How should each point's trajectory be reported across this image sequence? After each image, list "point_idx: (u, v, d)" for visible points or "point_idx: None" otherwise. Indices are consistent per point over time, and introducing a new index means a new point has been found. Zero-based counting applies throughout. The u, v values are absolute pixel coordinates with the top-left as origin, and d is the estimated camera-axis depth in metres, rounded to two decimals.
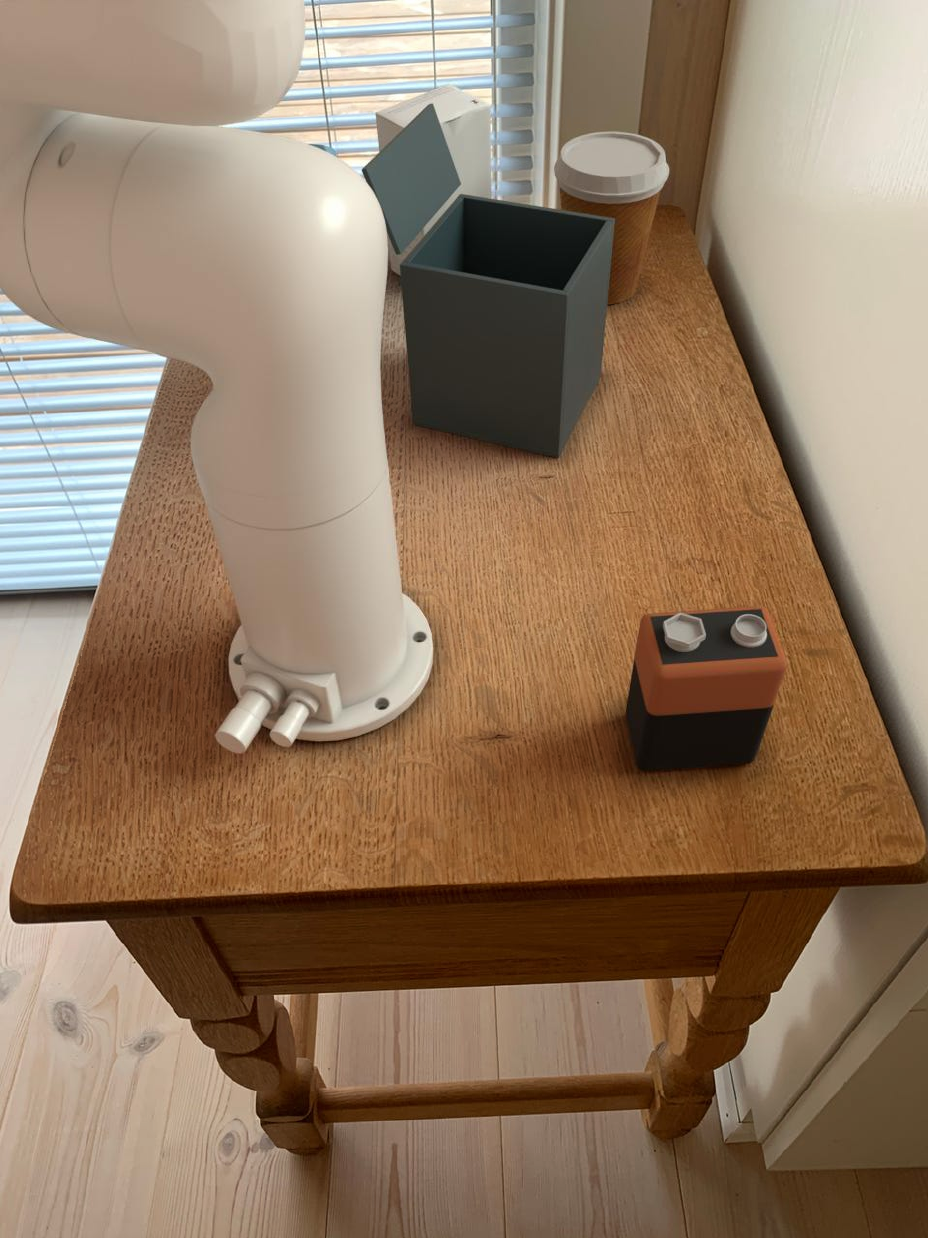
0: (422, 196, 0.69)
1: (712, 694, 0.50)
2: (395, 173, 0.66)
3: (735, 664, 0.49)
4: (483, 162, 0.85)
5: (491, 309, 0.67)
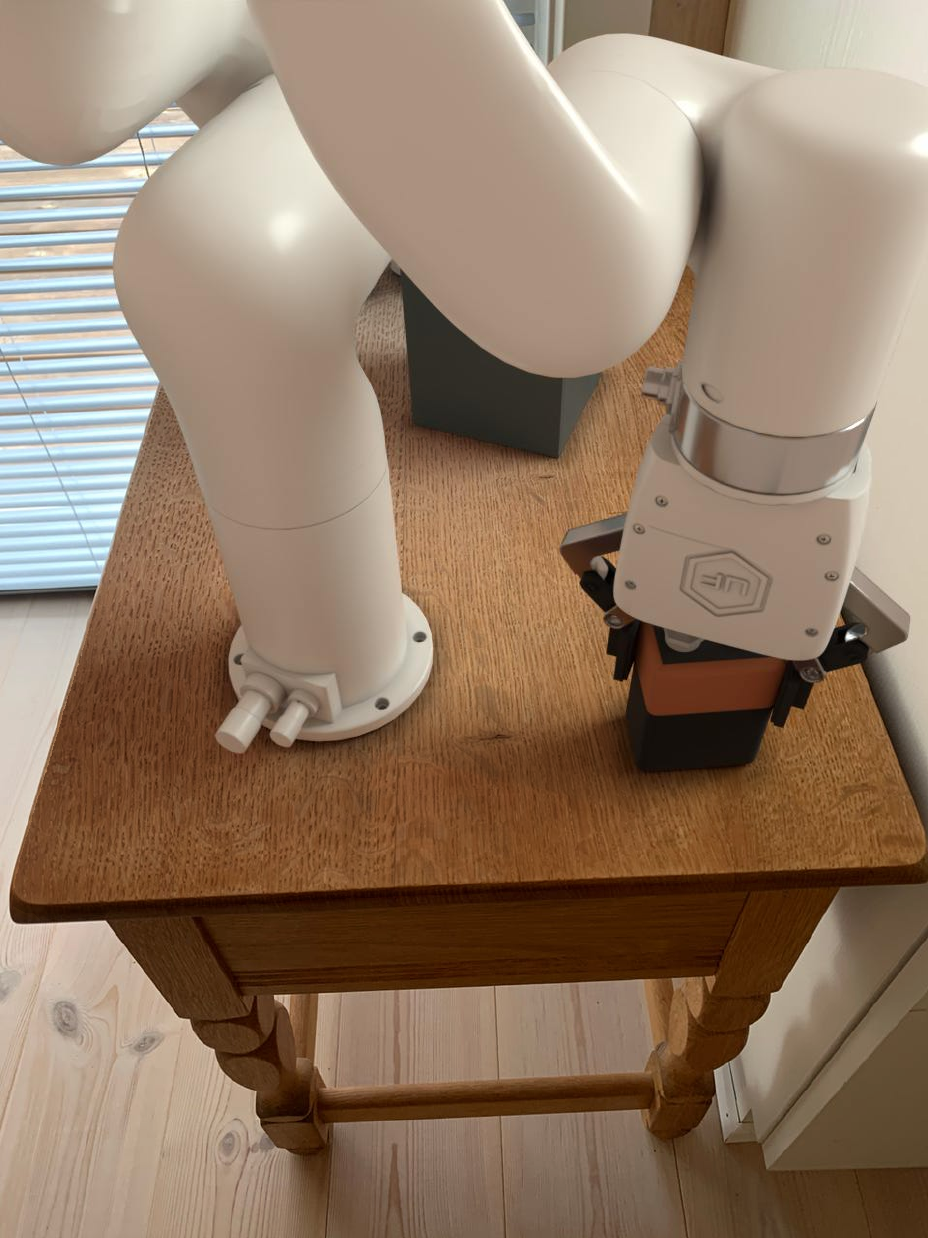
0: None
1: (712, 694, 0.50)
2: None
3: (735, 665, 0.49)
4: None
5: None
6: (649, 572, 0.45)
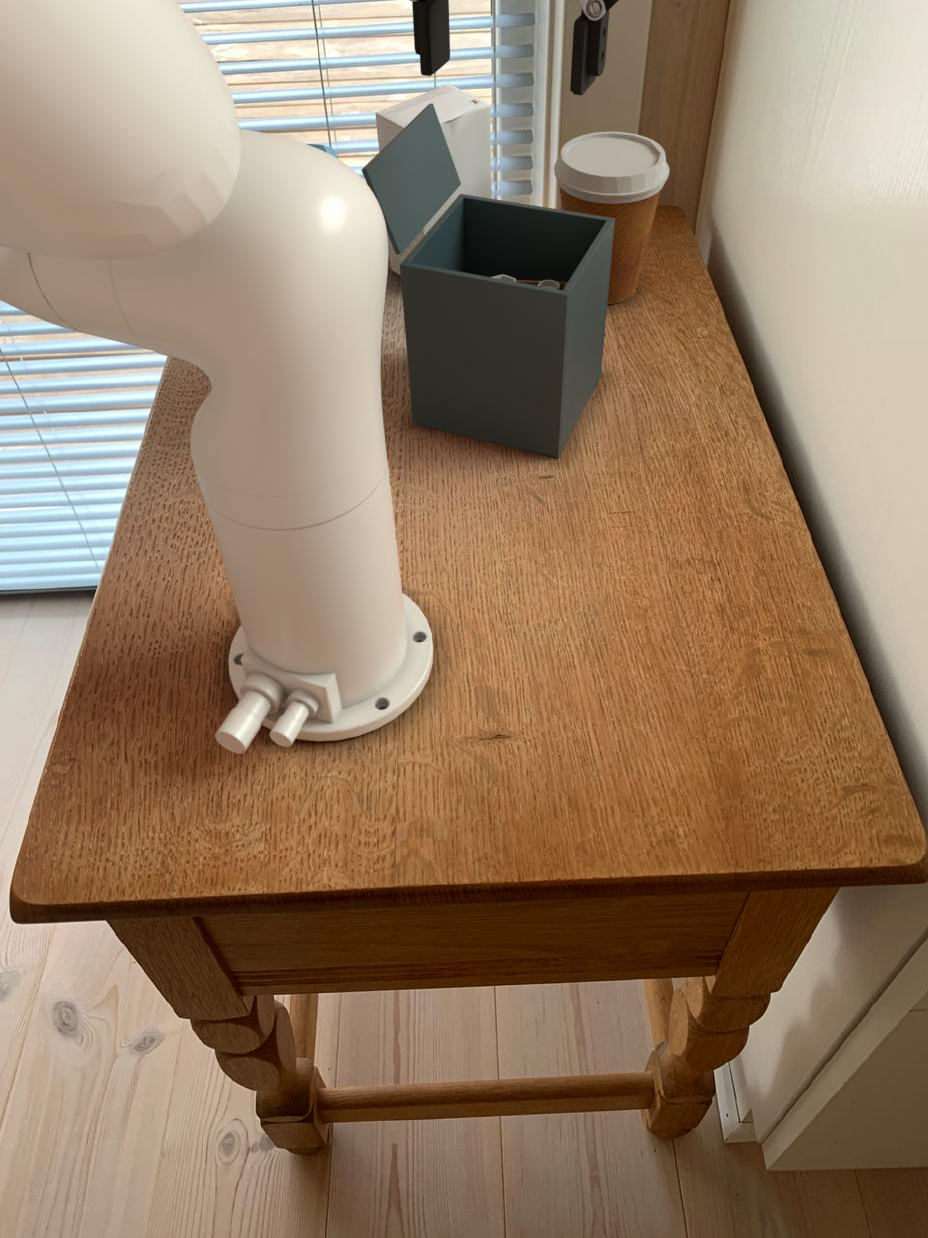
0: (422, 196, 0.69)
1: None
2: (395, 173, 0.66)
3: None
4: (483, 162, 0.85)
5: (491, 309, 0.67)
6: None
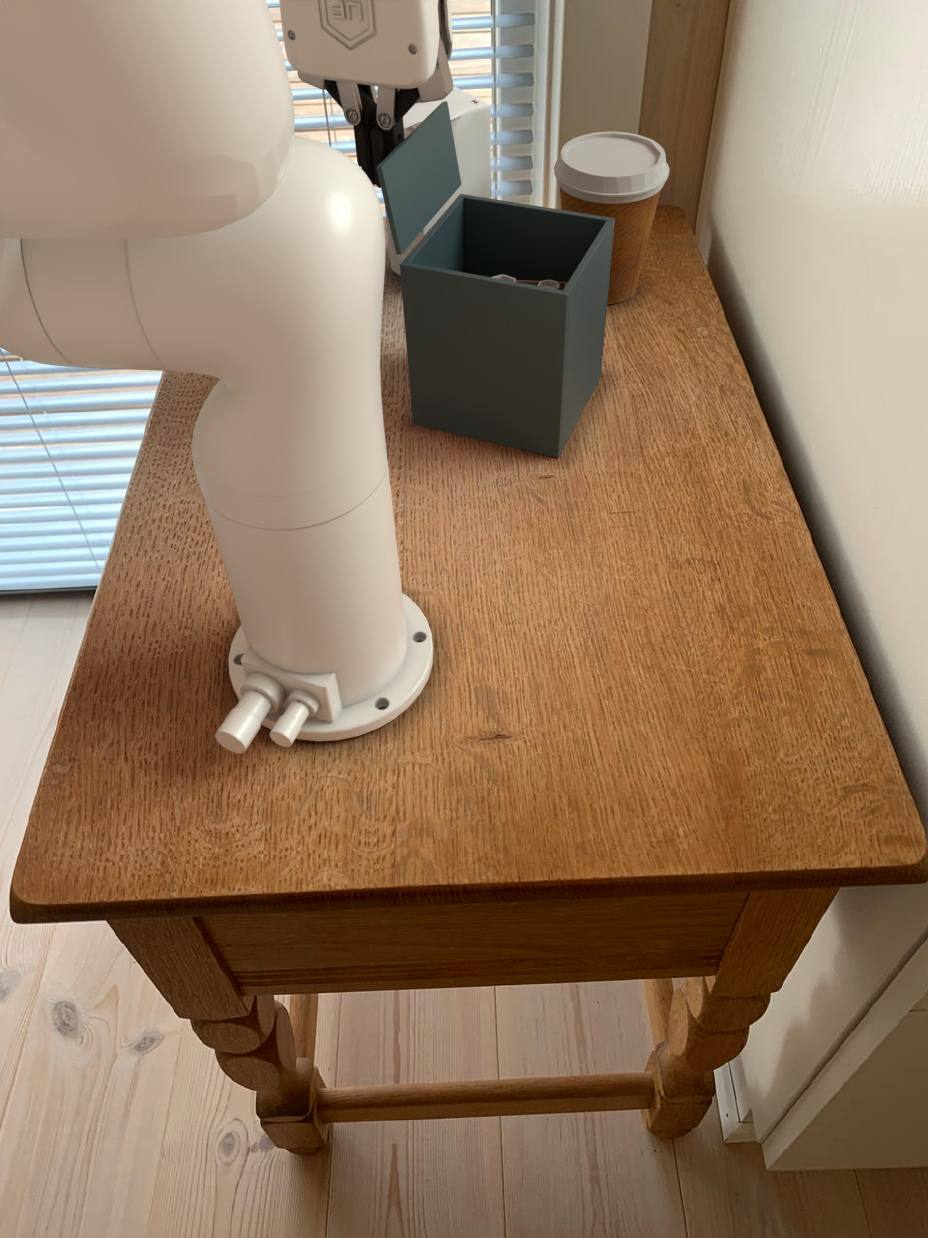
0: (427, 196, 0.69)
1: None
2: (406, 172, 0.65)
3: None
4: (483, 162, 0.85)
5: (491, 309, 0.67)
6: (299, 15, 0.60)
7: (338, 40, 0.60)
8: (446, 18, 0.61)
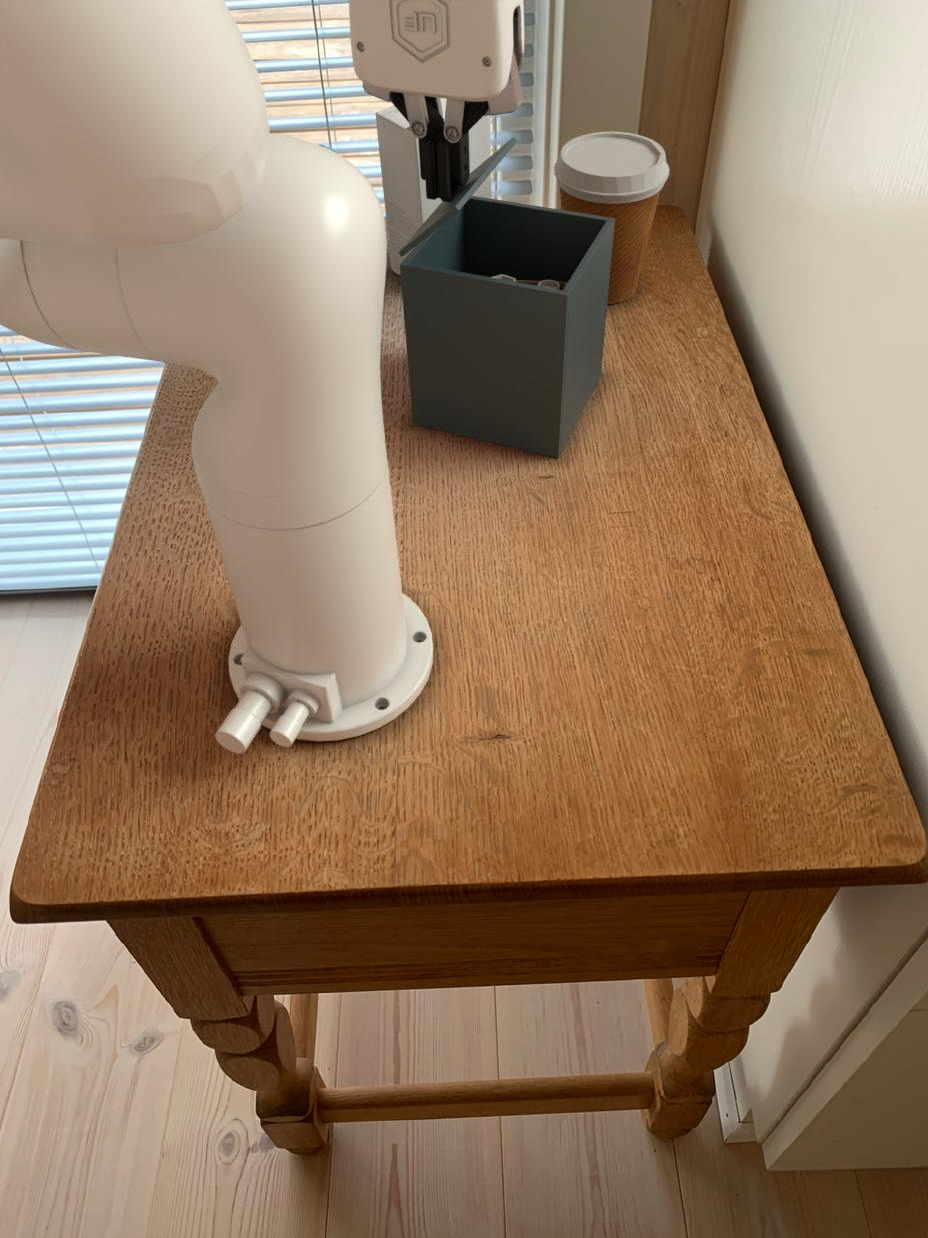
0: None
1: None
2: None
3: None
4: None
5: (491, 309, 0.67)
6: (369, 26, 0.59)
7: (409, 52, 0.59)
8: (519, 30, 0.59)
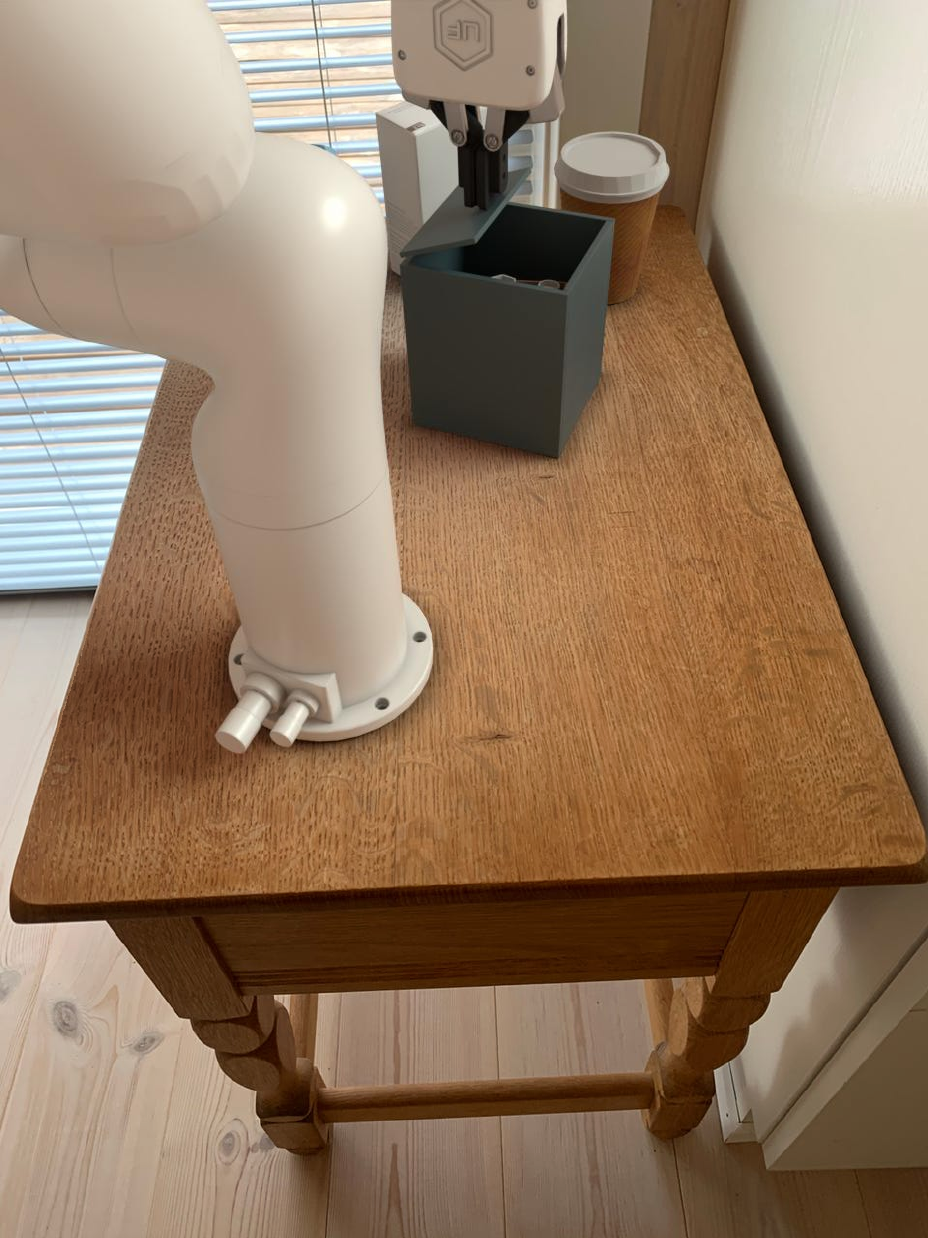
0: None
1: None
2: None
3: None
4: None
5: (491, 309, 0.67)
6: (411, 35, 0.59)
7: (451, 61, 0.59)
8: (562, 38, 0.59)
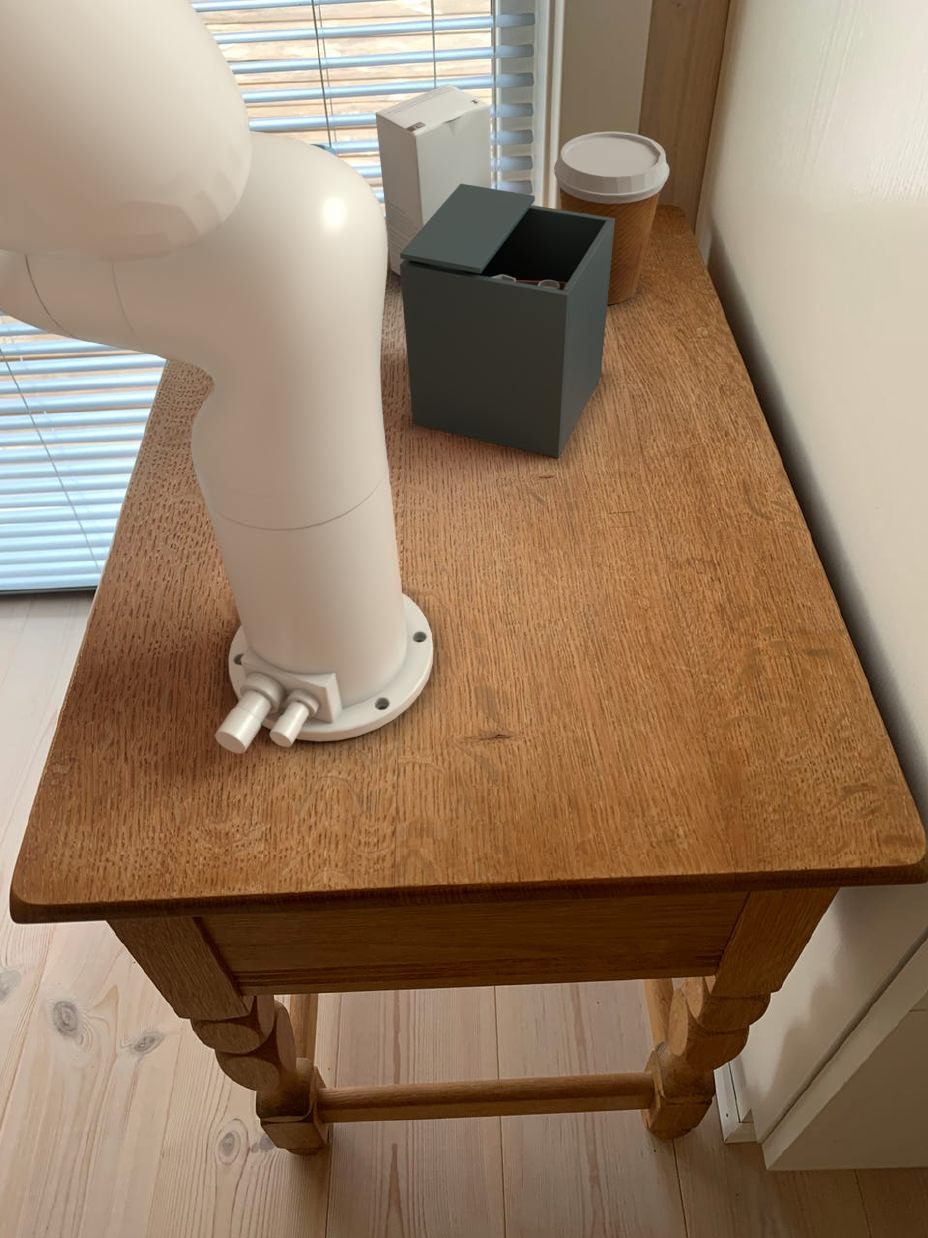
0: None
1: None
2: None
3: None
4: (483, 162, 0.85)
5: (491, 309, 0.67)
6: None
7: None
8: None
